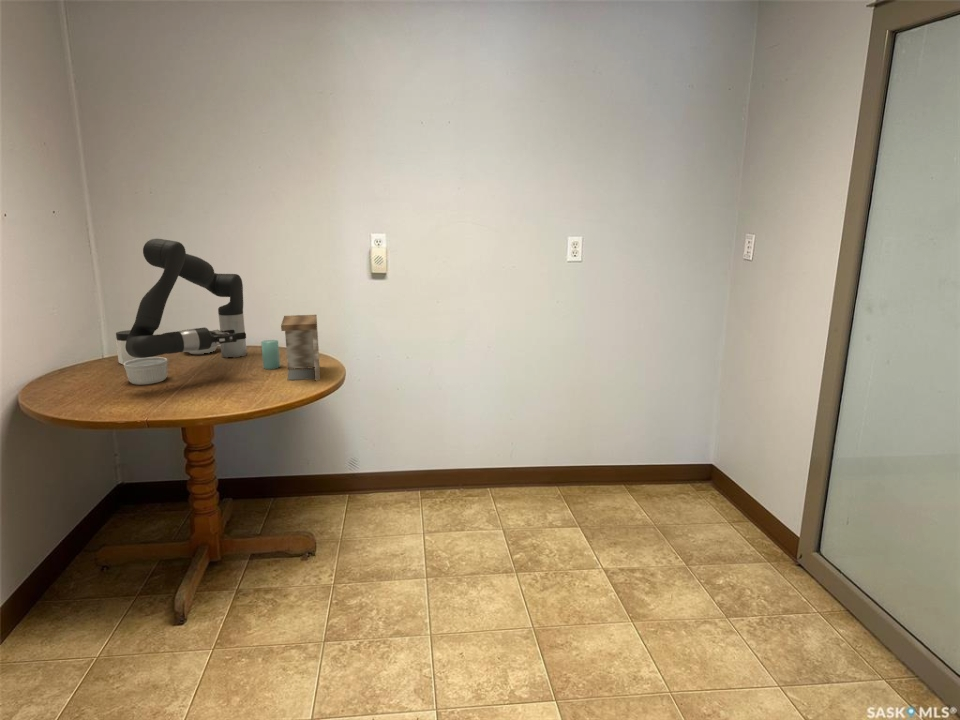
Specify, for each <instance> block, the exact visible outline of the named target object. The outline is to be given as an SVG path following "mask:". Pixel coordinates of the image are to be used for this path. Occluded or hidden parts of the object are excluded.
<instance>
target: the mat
mask: <svg viewBox="0 0 960 720" xmlns="http://www.w3.org/2000/svg"><path fill="white" fill-rule="evenodd" d="M303 379H308V380H315V368H302V369H288V371H287V378H286V380H292V381H303Z"/></svg>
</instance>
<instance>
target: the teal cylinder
mask: <svg viewBox="0 0 960 720" xmlns="http://www.w3.org/2000/svg"><path fill="white" fill-rule="evenodd" d="M260 343H261V356H262V367H263V369H264V368H265V369H264V370H276V369H275V368H277V369H279V368H278V367H280V368H281V364H280V363H281V361H280V349H279V348H280V347H279V345H280V344H279V340H277V339H267V340H262V341H261V342H260Z"/></svg>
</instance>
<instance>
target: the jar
mask: <svg viewBox="0 0 960 720" xmlns="http://www.w3.org/2000/svg"><path fill="white" fill-rule="evenodd" d="M130 331H131V329H130V330H129V329H128V330H120V331H117V332H115V344H116V351H117V359H118V363H119V364H121V365H123V366H124V363H125V362H127V361H130V360H134V359H139V358H135V357H132V356H130V355H129V354H128V353H127V351H126V347H125V346H126V340H127V338H128V335H129V333H130Z"/></svg>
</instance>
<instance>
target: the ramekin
mask: <svg viewBox="0 0 960 720" xmlns="http://www.w3.org/2000/svg"><path fill="white" fill-rule="evenodd" d="M168 363H169V361H168V358H166V357H162V356H153V357H147V358H139V359H134V360H130V361H127V362H125V363H124V365H123V368H124V369H125V374H126V376H127V380H128V381H129V382H130V384H133V385H138V386H139V385H141V386H142V385H152V384H156V383H160V382H162V381H164V380H166V379H167V378H168Z"/></svg>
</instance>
